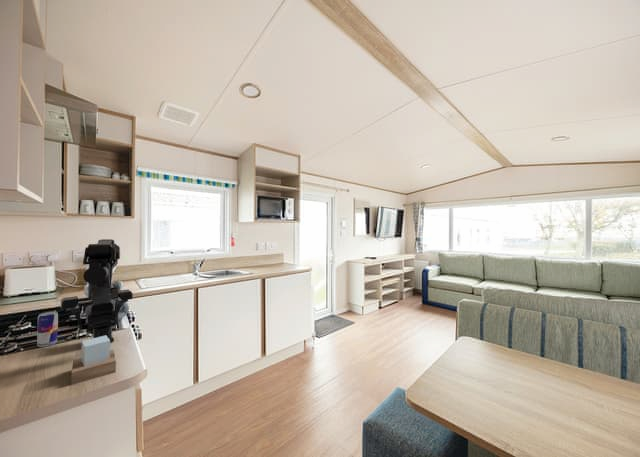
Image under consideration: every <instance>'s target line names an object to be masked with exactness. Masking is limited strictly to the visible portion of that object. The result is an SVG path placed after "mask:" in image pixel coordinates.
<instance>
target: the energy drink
mask: <svg viewBox="0 0 640 457" xmlns="http://www.w3.org/2000/svg"><path fill="white" fill-rule="evenodd" d="M58 328H59V314H58V311H54V310H53V311H47V312H46V311H45V312H42V313H40V314H38V316H37V328H36V329H37V332H36V334H37V336H36V340H37V341H36V347H39V348H45V347H49V346H53V345H55V344H57V342H58V333H59V332H58Z"/></svg>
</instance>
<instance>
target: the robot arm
mask: <svg viewBox="0 0 640 457" xmlns="http://www.w3.org/2000/svg"><path fill="white" fill-rule="evenodd" d="M120 258H121V247H120V246H119V245H117V244H116V243H115V240H114V239H111V238H110V239H105V238H103V239H98V241H97V243H90V244H88V245H87V246H86V247H85V249H84V255H83V261H82V265H85V266H86V265H88V268H87V269H86V270H85V271H84V273H83V275H82V276H83V280H84V281H85V282H86V283H88V284H87V285H88V297H87V296H85V297H81V298H78V295H76V296H69V297H68V296H67V297H63V298H62V299H61V300H60V309H61V310H66V312H71V313H72V314H73V316H74V317H75V320H76V322H77V324H78V326H79V327H82V318H81V311H80V306H79V305H81V304H88V303H91V305H92V304H93V306H92V308H91V313H90V314H89V315H88V324H87V331H90V330H92V332H93V333H92V339H93V338H97V337H101V336H105V335H106V336H107V337H108V338H109V340H110V343H113V342H115V338H114V337H113V326H114V327H115V326H118V325H119V321H118V313H119V311H120V308H121V307H122V305H123V304H124V303H125V302H127V303H128V302H129V300H133V295H134V294H133V292H132V291H131V290H129V289H122V290H120V291H118V287H112V283H113V282H112V281H113V270H114V269H115V268H116V267H117V266H118V264H119V263H118V262H119V260H120ZM111 287H112V288H111ZM111 299H116V300H115V308H114V305H113V304H112V303H111Z"/></svg>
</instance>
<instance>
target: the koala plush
mask: <svg viewBox="0 0 640 457" xmlns="http://www.w3.org/2000/svg"><path fill="white" fill-rule="evenodd" d="M112 287H118V291H120V290H124V282H123V281H122V280H121V279H120V280H117V281H114V282H112ZM112 287H111V288H112ZM83 294H84V295H85V297H88V284H86V285H84V286H83ZM115 300H116V299H111V303H112V304H113V305H114V308H115ZM92 306H93V304H92V303H91V305H88V306H87V307H85V308H84V310H85V311H84V312H85V317H86V319H85V324H87V325H88V315H89V314H90V313H91V308H92ZM129 309H130V307H129V303H128V302H125V303H124V304H123V305H122V307H121V308H120V311H119V313H118V322H119V321H121V320H123V319H124V317H125V316H127V314H128V313H129V311H130V310H129Z"/></svg>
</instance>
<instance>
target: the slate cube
mask: <svg viewBox="0 0 640 457" xmlns="http://www.w3.org/2000/svg"><path fill="white" fill-rule="evenodd" d="M110 351H111V342H110V340H109V338H108V337H107V336H106V335H105V336H101V337H97V338H93V337H92V338H89V339H85V340H81V356H80V358H81V360H82V362H83V365H84V367H85V366H88V365H92V364H95V363H98V362H102V361H105V360H109V359H110Z"/></svg>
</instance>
